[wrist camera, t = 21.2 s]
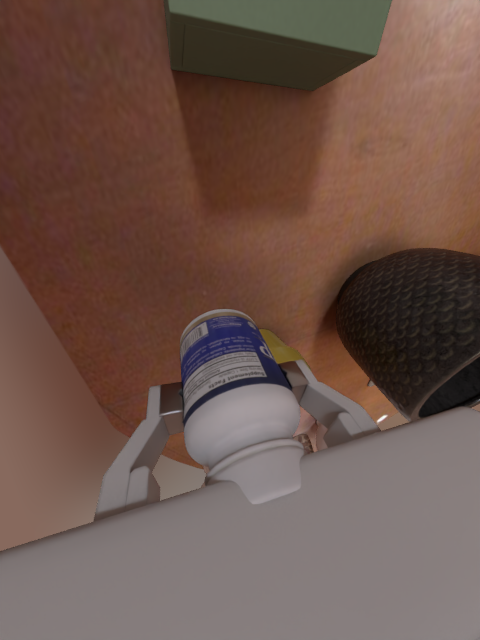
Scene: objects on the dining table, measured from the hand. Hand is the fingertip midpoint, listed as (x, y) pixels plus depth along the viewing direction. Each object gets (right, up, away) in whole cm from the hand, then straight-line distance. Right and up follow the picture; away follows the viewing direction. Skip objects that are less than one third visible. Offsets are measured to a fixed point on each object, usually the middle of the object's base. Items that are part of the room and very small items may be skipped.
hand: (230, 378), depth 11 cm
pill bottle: (-1, +2, +3) cm, 4 cm away
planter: (+23, +9, +25) cm, 35 cm away
